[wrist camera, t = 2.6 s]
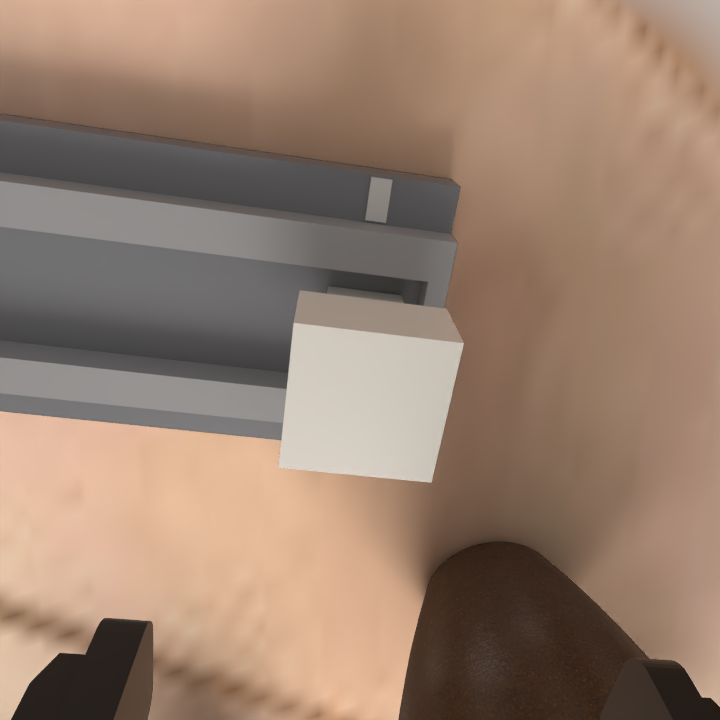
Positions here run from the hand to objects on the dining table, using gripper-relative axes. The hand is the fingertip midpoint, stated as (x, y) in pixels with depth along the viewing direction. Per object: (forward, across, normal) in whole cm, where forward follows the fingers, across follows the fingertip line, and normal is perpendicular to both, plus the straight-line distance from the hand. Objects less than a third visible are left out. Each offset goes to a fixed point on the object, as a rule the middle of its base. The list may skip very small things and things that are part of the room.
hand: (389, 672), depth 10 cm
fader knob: (+16, 0, 0) cm, 16 cm away
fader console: (+18, +9, 0) cm, 20 cm away
